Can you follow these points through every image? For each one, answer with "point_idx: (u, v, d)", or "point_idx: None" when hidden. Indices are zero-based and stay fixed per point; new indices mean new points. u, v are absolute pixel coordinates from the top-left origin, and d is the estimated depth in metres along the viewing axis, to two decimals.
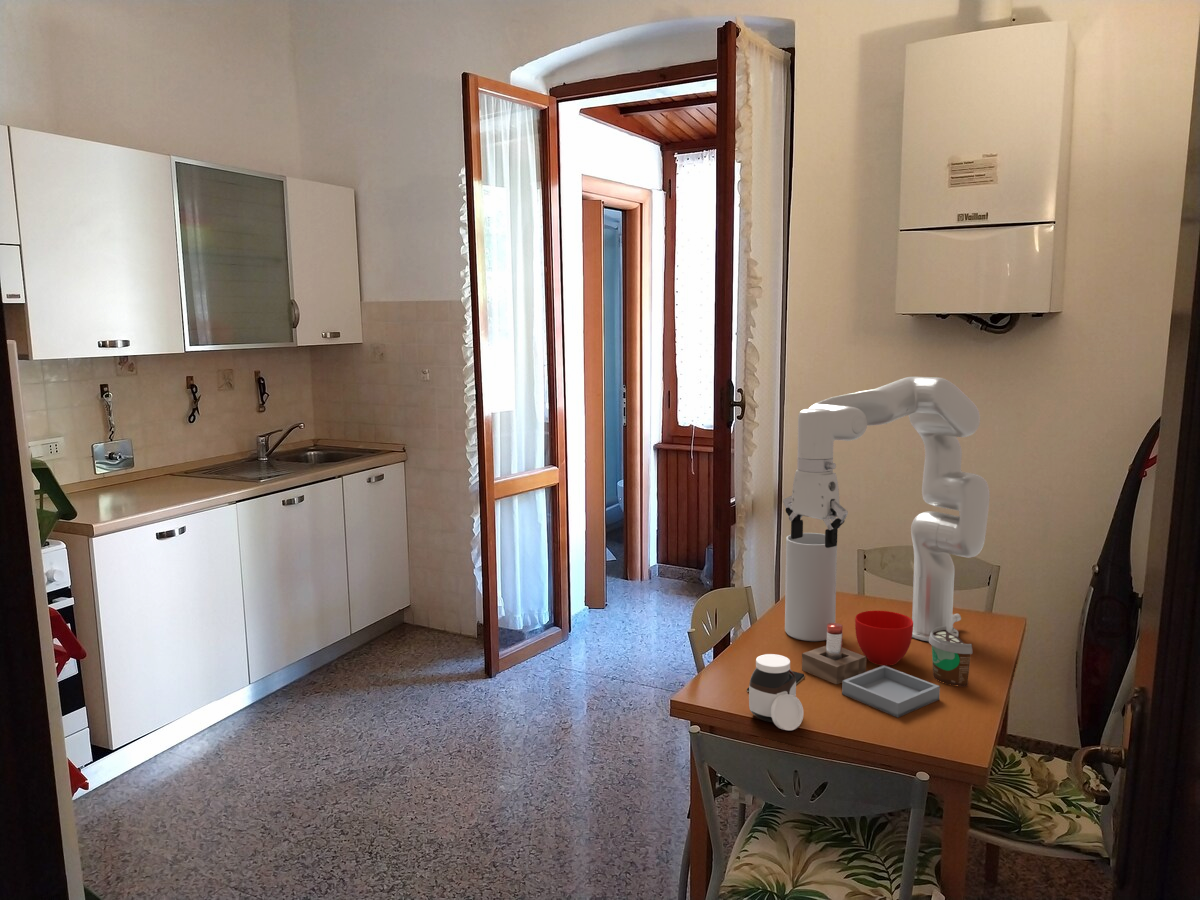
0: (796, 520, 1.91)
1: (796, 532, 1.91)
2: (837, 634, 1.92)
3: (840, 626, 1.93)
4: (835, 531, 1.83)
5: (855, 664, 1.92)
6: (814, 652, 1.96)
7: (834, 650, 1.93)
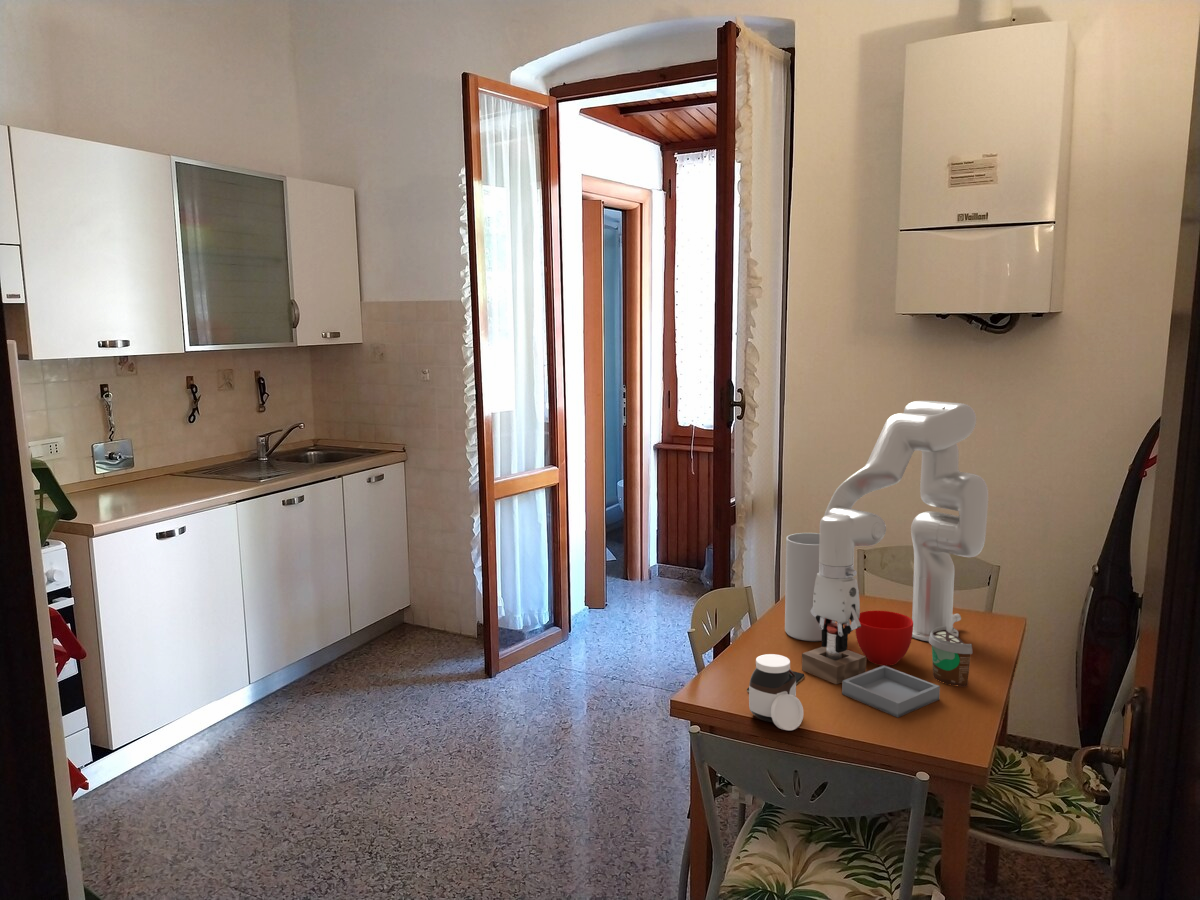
0: (826, 629, 1.95)
1: (826, 640, 1.95)
2: (837, 634, 1.92)
3: None
4: (845, 637, 1.92)
5: (855, 664, 1.92)
6: (814, 652, 1.96)
7: (834, 650, 1.93)
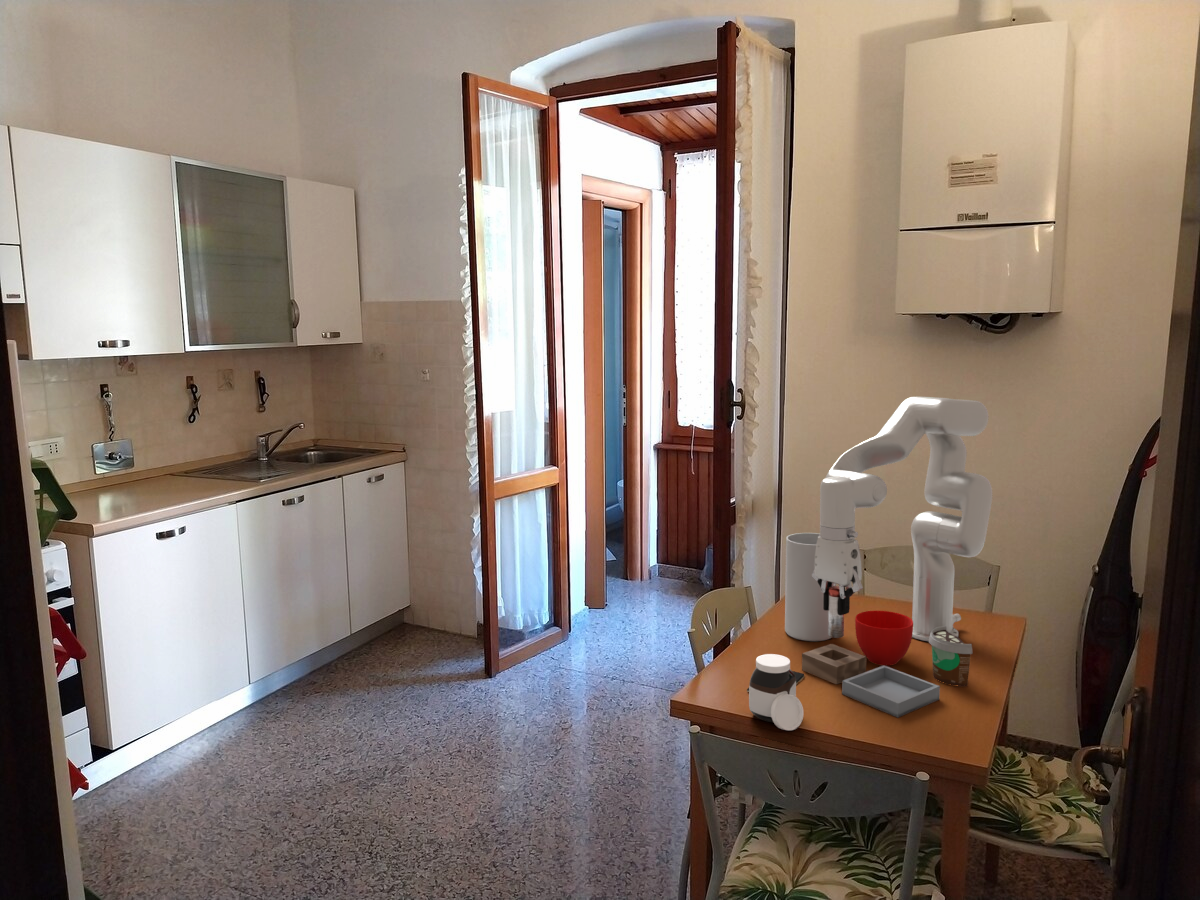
0: (828, 592, 1.94)
1: (828, 604, 1.94)
2: (839, 597, 1.91)
3: None
4: (847, 599, 1.91)
5: (855, 664, 1.92)
6: (814, 652, 1.96)
7: (836, 612, 1.92)
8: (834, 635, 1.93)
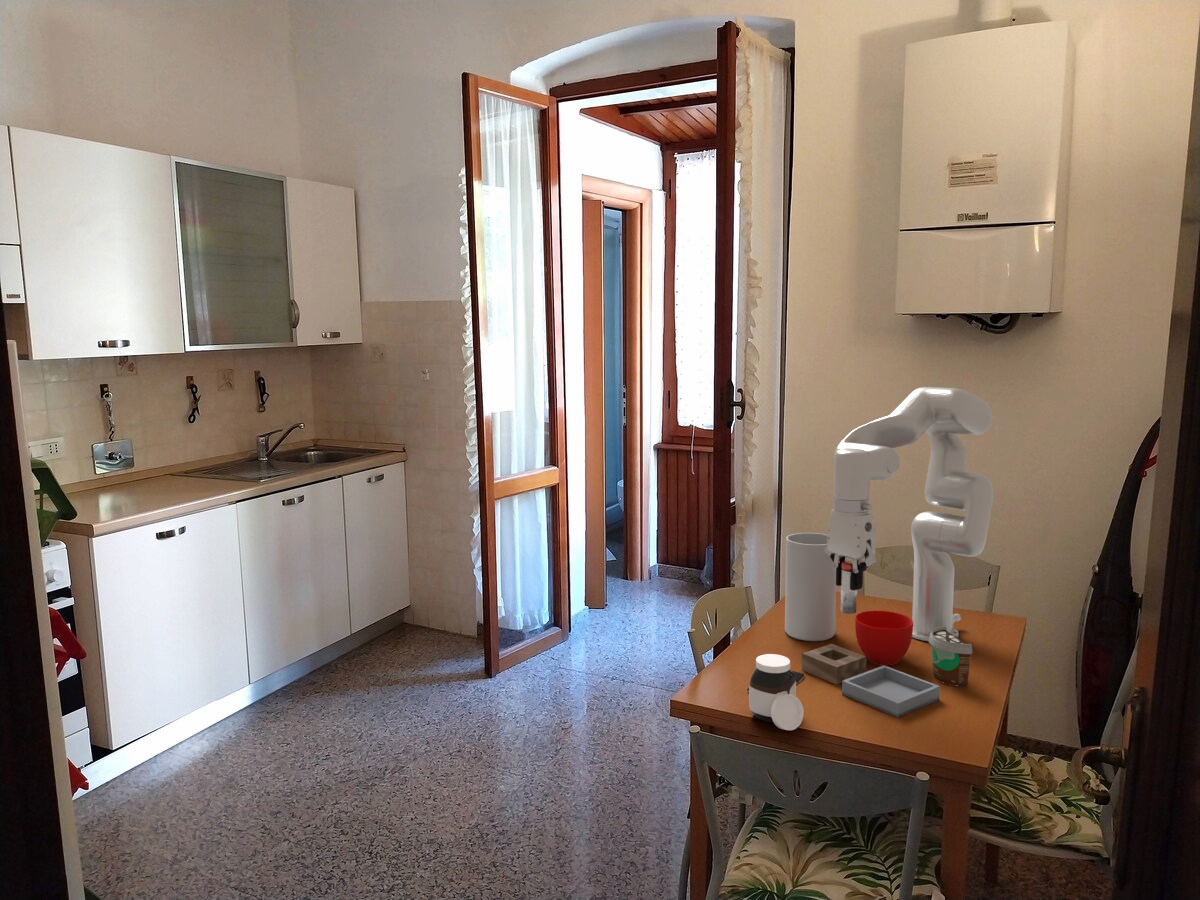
0: None
1: None
2: (852, 571, 1.87)
3: None
4: (860, 574, 1.86)
5: (855, 664, 1.92)
6: (814, 652, 1.96)
7: (848, 587, 1.87)
8: (846, 611, 1.88)
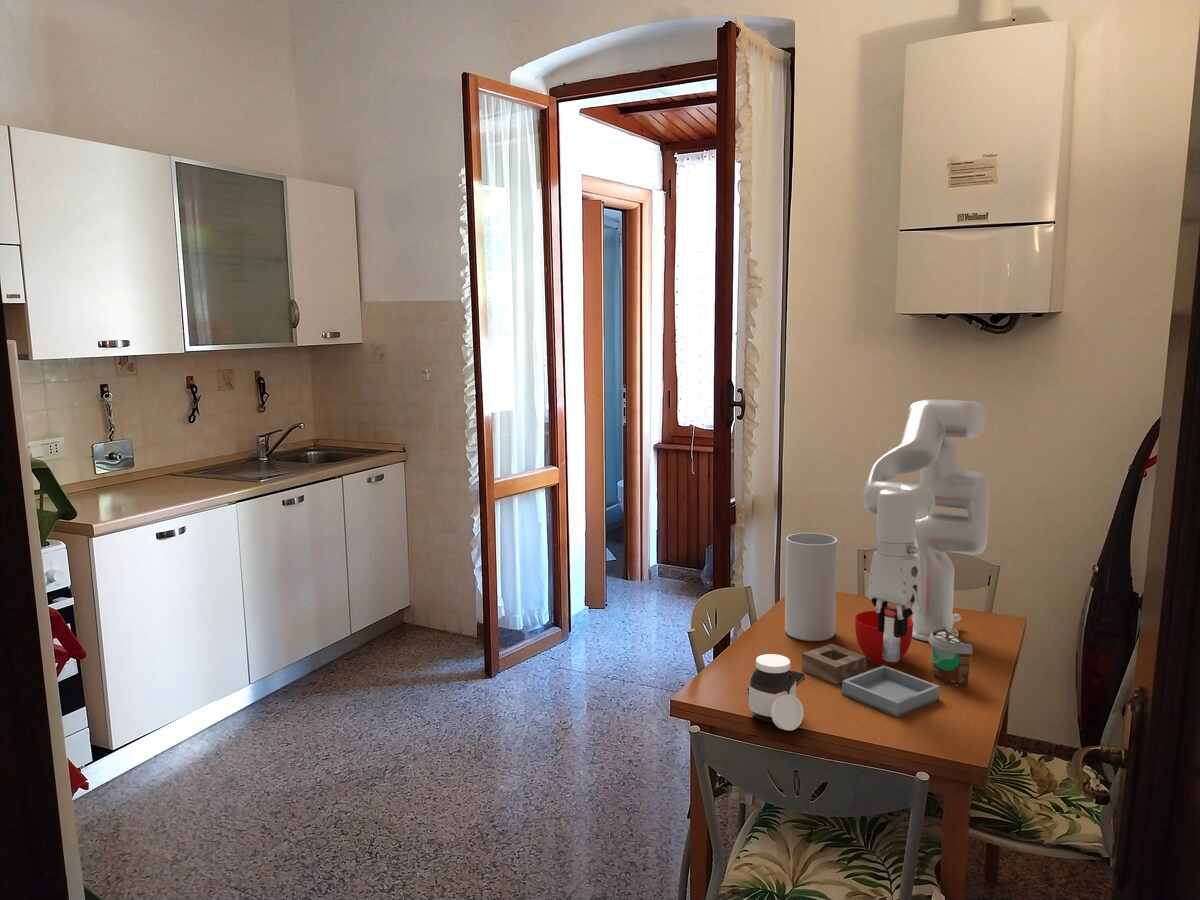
0: None
1: (883, 625, 1.80)
2: (896, 618, 1.77)
3: None
4: (905, 621, 1.77)
5: (855, 664, 1.92)
6: (814, 652, 1.96)
7: (892, 635, 1.78)
8: (889, 659, 1.79)
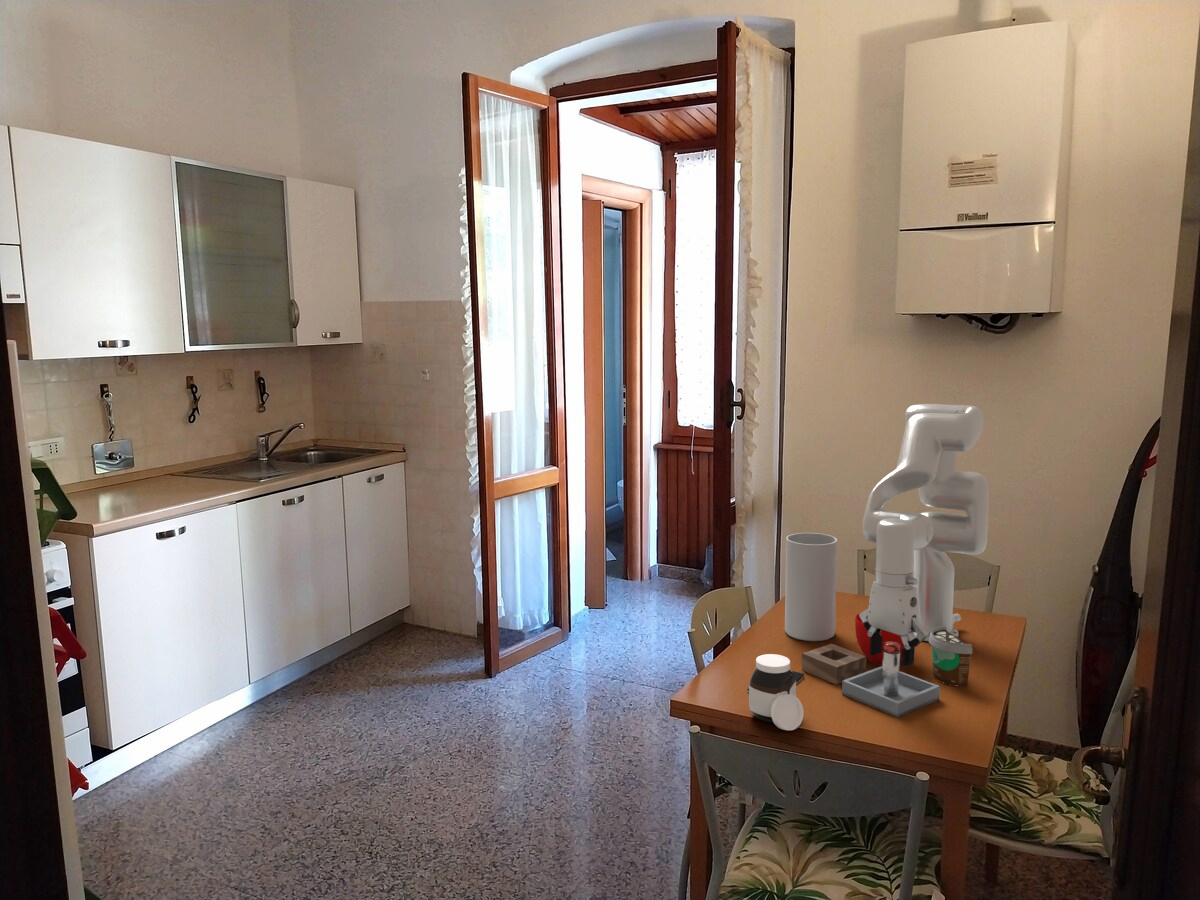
0: (875, 636, 1.83)
1: (875, 648, 1.83)
2: (895, 654, 1.79)
3: (898, 645, 1.79)
4: (912, 650, 1.76)
5: (855, 664, 1.92)
6: (814, 652, 1.96)
7: (891, 670, 1.79)
8: (888, 694, 1.80)
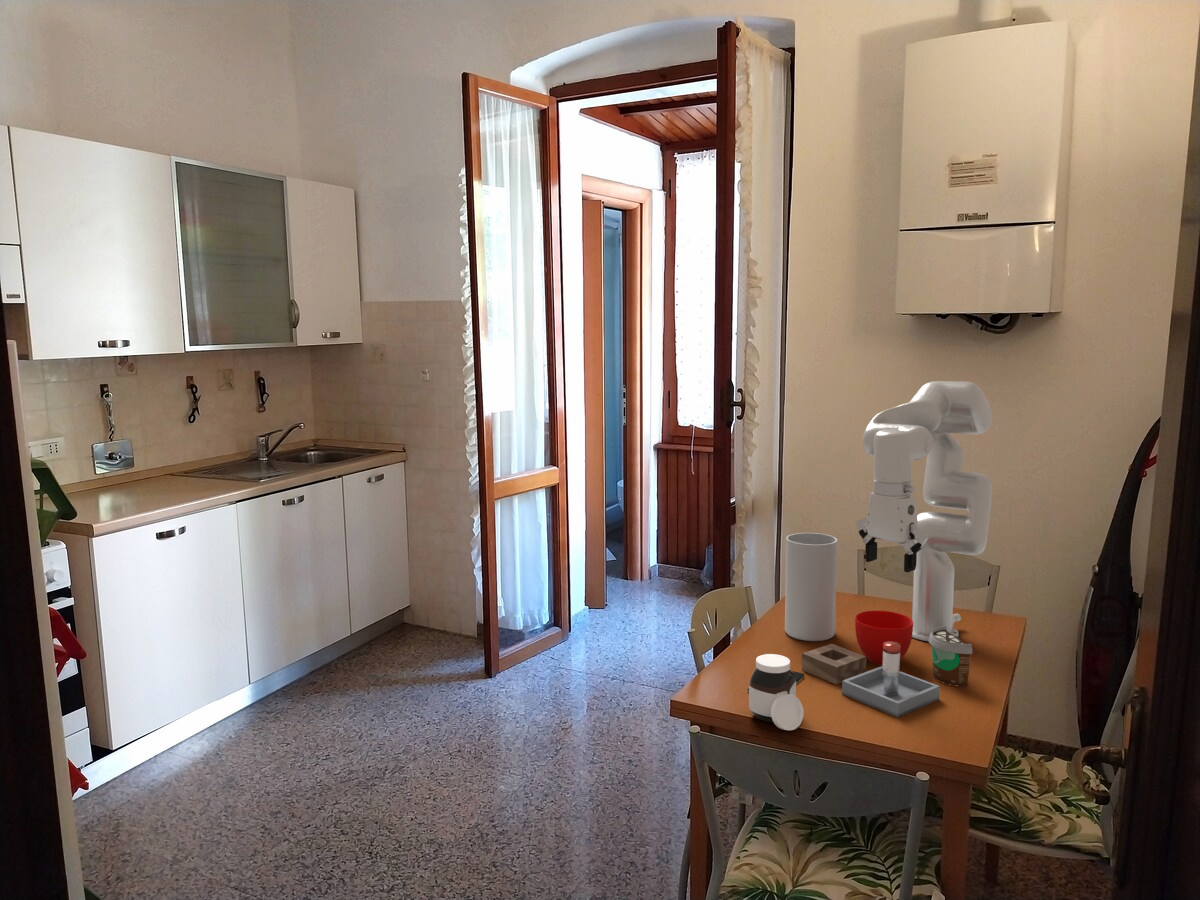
0: (871, 543, 1.87)
1: (871, 555, 1.87)
2: (895, 654, 1.79)
3: (898, 645, 1.79)
4: (914, 555, 1.79)
5: (855, 664, 1.92)
6: (814, 652, 1.96)
7: (891, 670, 1.79)
8: (888, 694, 1.80)
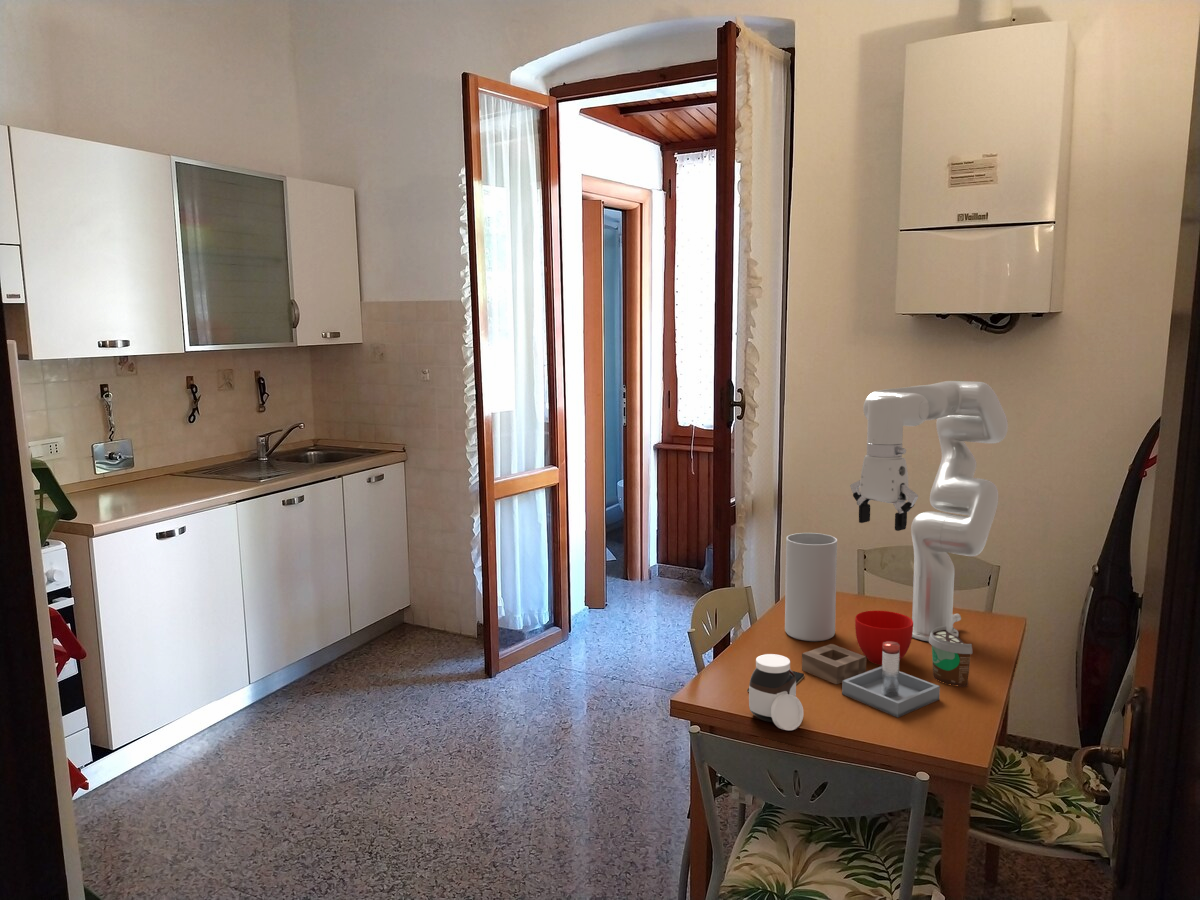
0: (864, 504, 1.96)
1: (864, 516, 1.96)
2: (894, 654, 1.79)
3: (897, 645, 1.80)
4: (905, 514, 1.88)
5: (855, 664, 1.92)
6: (814, 652, 1.96)
7: (891, 670, 1.79)
8: (888, 694, 1.80)
